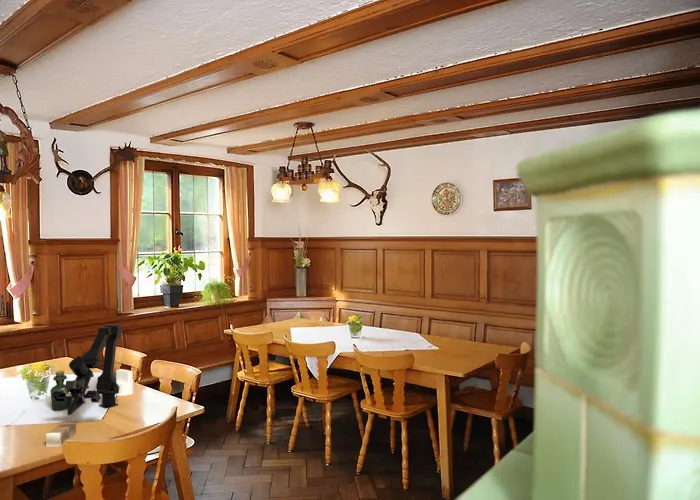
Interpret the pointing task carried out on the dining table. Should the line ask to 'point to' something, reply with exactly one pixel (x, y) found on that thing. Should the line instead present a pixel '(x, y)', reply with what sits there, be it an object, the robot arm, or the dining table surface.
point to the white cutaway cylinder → (124, 382)
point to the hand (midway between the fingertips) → (68, 415)
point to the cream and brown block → (60, 434)
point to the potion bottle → (60, 386)
